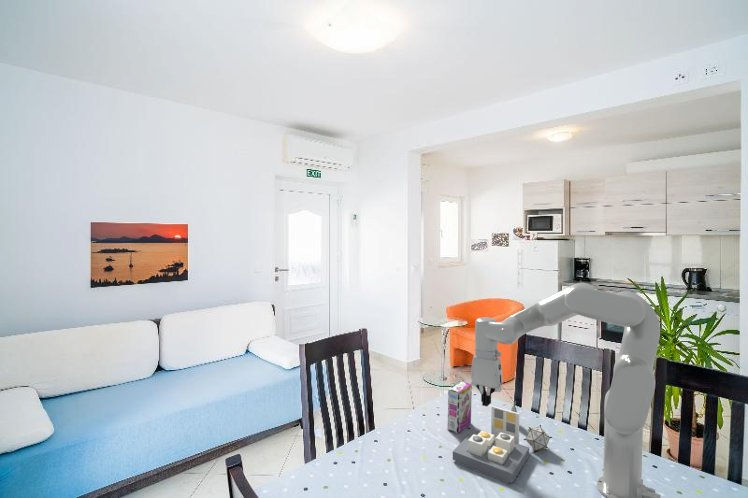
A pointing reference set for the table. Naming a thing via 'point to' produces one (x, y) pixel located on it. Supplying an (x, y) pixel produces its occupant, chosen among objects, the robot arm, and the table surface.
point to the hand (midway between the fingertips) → (486, 404)
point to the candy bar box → (459, 407)
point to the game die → (537, 438)
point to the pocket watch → (514, 407)
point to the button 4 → (498, 455)
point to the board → (491, 467)
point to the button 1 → (477, 445)
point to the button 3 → (505, 442)
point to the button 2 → (489, 438)
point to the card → (505, 423)
